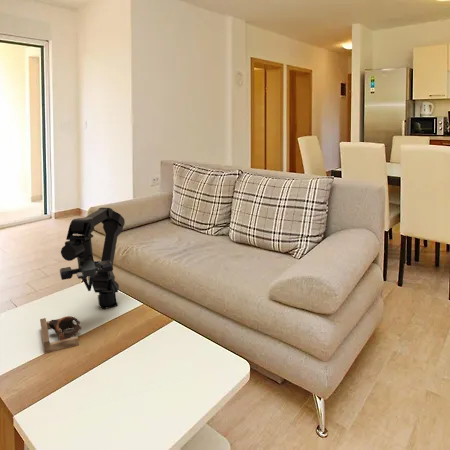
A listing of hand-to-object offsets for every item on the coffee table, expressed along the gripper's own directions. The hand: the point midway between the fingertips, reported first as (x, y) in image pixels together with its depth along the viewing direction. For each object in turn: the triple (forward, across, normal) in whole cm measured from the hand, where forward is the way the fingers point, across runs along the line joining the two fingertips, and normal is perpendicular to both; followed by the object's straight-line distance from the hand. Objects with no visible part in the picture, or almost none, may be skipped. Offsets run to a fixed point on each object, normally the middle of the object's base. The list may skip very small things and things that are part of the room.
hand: (89, 290), depth 162 cm
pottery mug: (+12, -11, -8) cm, 18 cm away
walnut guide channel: (+12, -12, -8) cm, 19 cm away
